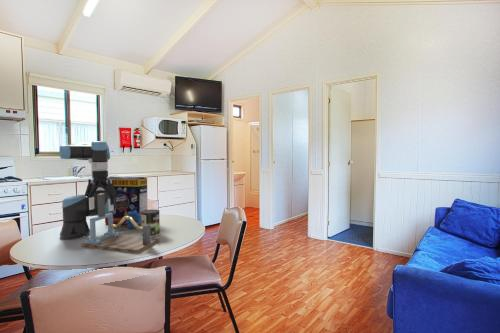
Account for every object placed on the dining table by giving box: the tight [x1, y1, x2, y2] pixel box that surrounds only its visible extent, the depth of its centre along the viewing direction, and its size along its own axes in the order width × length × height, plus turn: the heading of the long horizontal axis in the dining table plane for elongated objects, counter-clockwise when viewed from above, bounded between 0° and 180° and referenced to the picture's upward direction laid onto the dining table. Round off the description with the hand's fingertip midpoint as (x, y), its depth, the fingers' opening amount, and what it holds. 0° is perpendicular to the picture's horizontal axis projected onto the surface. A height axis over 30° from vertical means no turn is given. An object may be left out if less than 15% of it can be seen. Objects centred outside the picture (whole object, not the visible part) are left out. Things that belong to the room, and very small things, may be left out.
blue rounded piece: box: [125, 210, 141, 230], centre depth 181 cm, size 12×7×12 cm, turn 74°
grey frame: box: [84, 194, 119, 245], centre depth 153 cm, size 8×15×25 cm, turn 164°
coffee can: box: [141, 209, 161, 238], centre depth 167 cm, size 10×10×14 cm
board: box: [81, 234, 160, 254], centre depth 151 cm, size 34×18×2 cm, turn 74°
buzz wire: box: [110, 216, 151, 245], centre depth 149 cm, size 24×3×14 cm, turn 74°
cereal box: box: [104, 176, 148, 226], centre depth 195 cm, size 27×11×32 cm, turn 80°
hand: (101, 210), depth 153 cm, fingers open, 12 cm apart
